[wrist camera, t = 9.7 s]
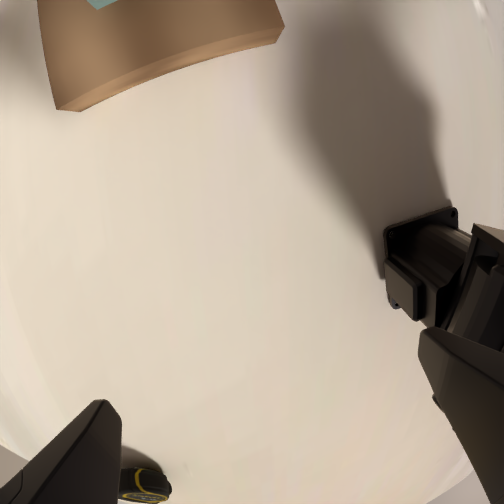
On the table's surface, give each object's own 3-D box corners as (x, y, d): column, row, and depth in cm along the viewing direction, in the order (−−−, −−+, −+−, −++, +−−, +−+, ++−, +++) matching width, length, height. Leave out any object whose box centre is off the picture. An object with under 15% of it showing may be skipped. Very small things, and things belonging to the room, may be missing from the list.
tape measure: (102, 473, 26) (104, 500, 23) (124, 457, 25) (127, 487, 22) (151, 483, 30) (155, 507, 26) (178, 468, 28) (183, 495, 25)
